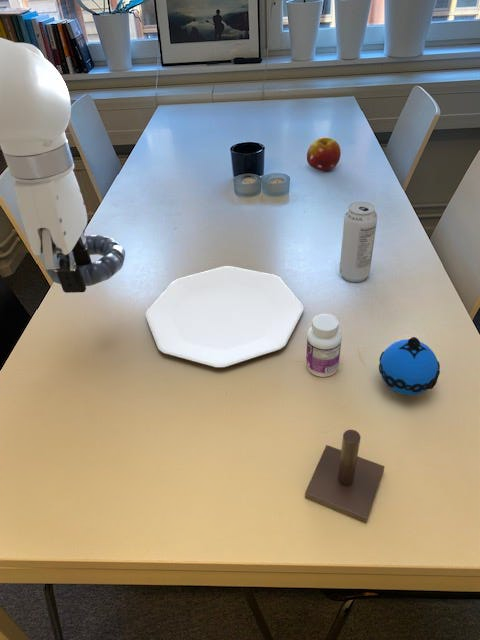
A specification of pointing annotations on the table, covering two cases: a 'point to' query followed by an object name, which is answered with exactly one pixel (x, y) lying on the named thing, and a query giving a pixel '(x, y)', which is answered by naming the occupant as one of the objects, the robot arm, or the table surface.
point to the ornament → (409, 367)
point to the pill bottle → (323, 345)
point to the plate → (224, 316)
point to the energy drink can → (358, 241)
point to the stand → (345, 479)
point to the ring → (102, 267)
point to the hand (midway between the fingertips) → (79, 281)
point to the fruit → (323, 154)
